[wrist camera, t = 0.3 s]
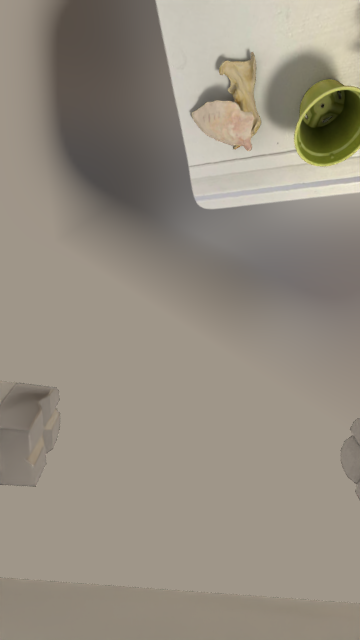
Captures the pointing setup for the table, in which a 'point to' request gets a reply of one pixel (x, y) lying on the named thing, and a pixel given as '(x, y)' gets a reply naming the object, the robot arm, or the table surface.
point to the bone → (243, 87)
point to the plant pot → (328, 124)
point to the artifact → (225, 122)
